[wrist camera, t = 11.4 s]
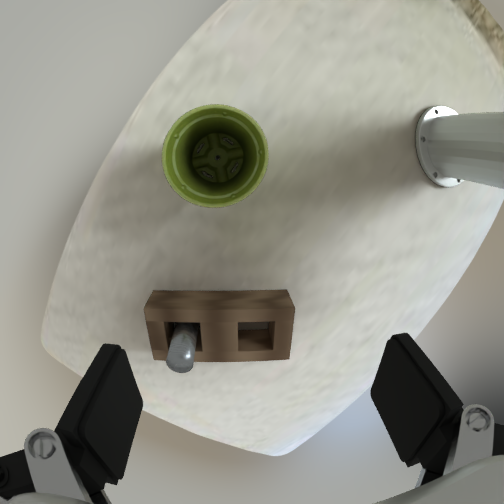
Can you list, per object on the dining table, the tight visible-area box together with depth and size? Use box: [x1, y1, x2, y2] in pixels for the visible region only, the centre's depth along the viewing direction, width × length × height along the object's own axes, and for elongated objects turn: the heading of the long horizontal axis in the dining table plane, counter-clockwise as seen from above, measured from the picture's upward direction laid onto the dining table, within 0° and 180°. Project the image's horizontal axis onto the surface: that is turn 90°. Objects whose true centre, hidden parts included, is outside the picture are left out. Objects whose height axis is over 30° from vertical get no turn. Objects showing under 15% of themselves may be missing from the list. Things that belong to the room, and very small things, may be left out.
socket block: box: [144, 290, 295, 362], centre depth 36 cm, size 18×8×5 cm, turn 89°
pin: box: [166, 322, 199, 373], centre depth 33 cm, size 3×3×10 cm
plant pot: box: [162, 104, 269, 208], centre depth 27 cm, size 9×9×9 cm
